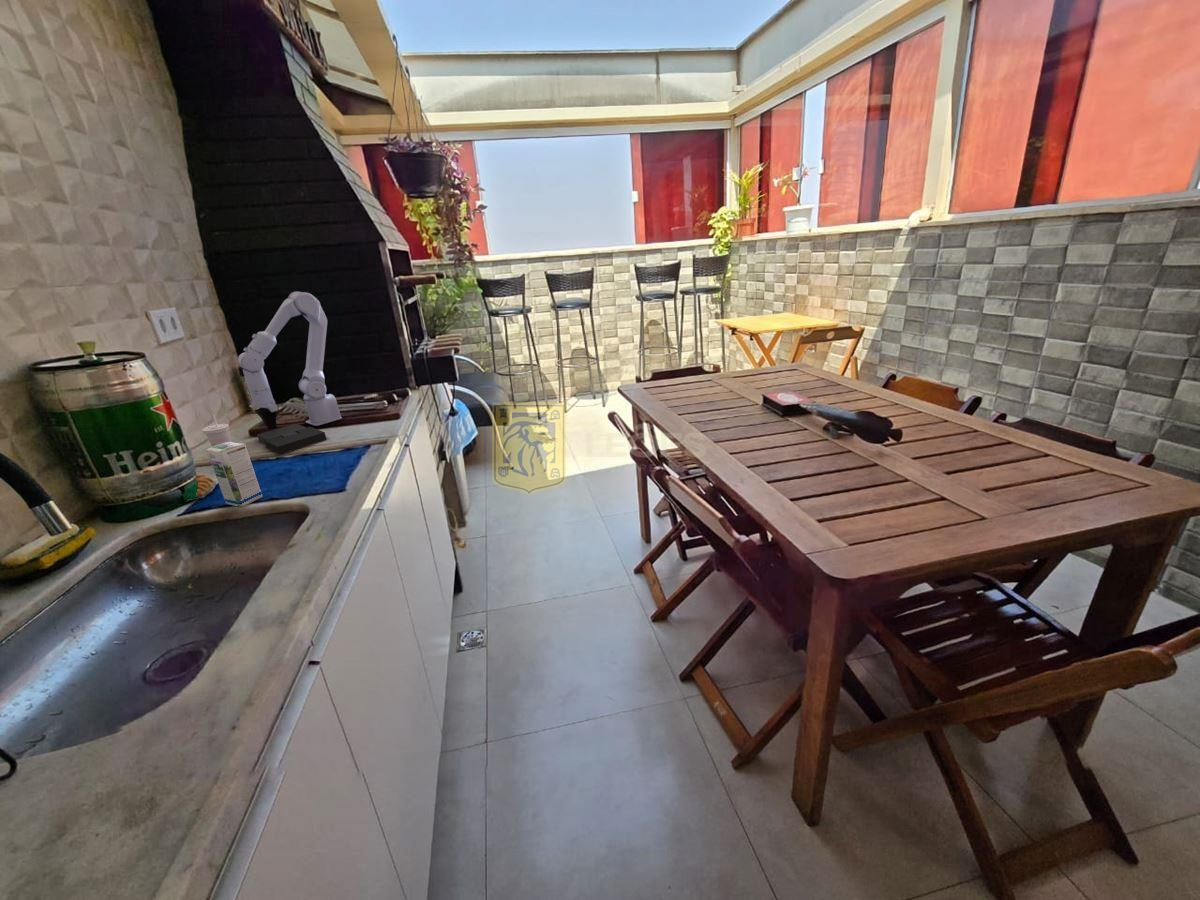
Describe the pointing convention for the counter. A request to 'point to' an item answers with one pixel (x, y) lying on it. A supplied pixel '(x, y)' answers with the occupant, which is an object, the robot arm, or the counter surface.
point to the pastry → (204, 486)
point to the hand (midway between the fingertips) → (272, 428)
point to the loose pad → (280, 432)
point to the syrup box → (234, 472)
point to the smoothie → (217, 433)
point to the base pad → (295, 440)
